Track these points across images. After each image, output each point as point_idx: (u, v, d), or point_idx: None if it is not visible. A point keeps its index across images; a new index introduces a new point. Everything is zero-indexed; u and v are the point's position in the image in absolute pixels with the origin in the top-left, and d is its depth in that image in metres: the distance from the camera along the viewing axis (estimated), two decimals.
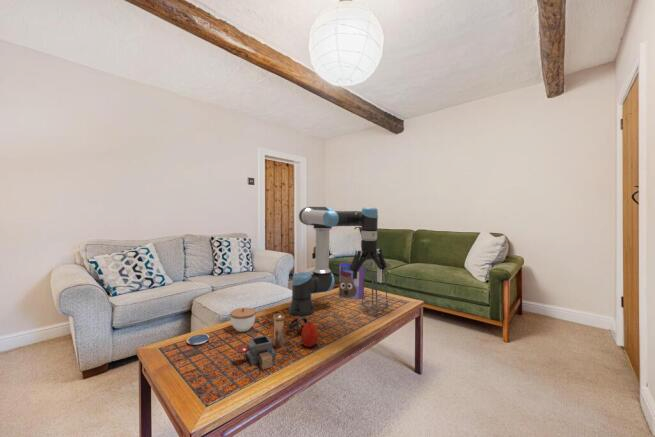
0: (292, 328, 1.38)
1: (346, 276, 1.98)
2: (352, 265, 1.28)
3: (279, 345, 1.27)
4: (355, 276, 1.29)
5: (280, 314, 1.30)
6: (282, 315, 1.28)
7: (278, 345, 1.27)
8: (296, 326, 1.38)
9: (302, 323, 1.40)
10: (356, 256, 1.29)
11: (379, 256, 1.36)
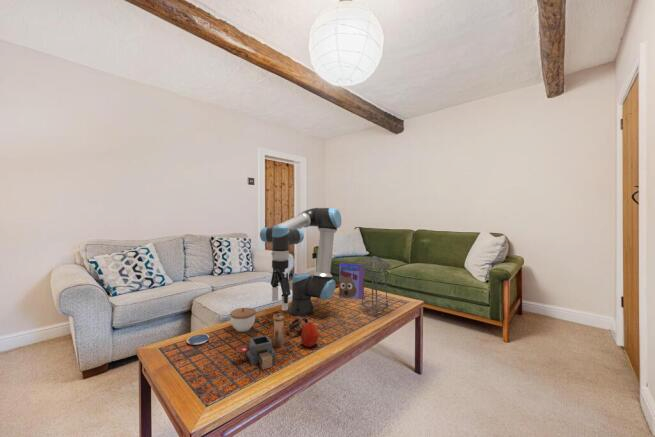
0: (293, 329, 1.38)
1: (346, 276, 1.98)
2: None
3: (279, 345, 1.27)
4: None
5: (280, 314, 1.30)
6: (282, 315, 1.28)
7: (278, 345, 1.27)
8: (297, 327, 1.38)
9: (303, 323, 1.40)
10: None
11: None
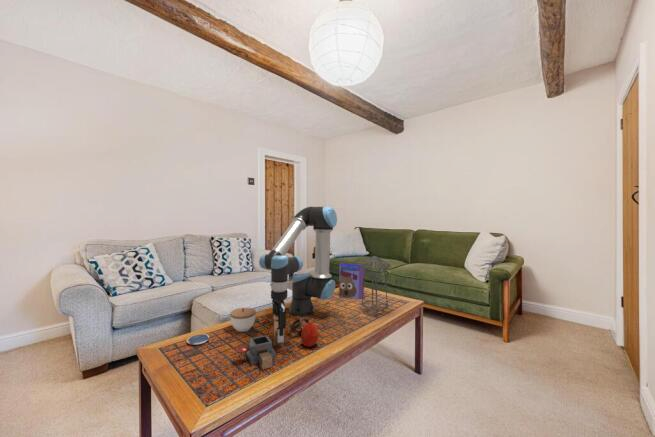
0: (294, 329, 1.37)
1: (346, 276, 1.98)
2: None
3: (279, 345, 1.27)
4: None
5: None
6: None
7: (278, 345, 1.27)
8: (298, 327, 1.37)
9: (304, 324, 1.39)
10: None
11: None
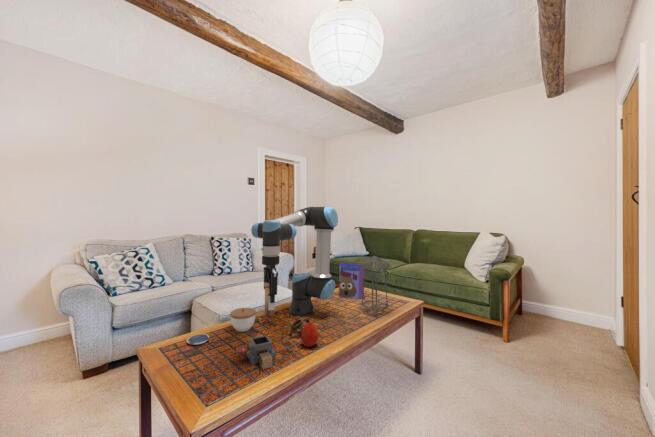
0: (295, 330, 1.37)
1: (346, 276, 1.98)
2: None
3: (270, 313, 1.21)
4: None
5: None
6: None
7: (269, 313, 1.21)
8: (299, 328, 1.37)
9: None
10: None
11: None
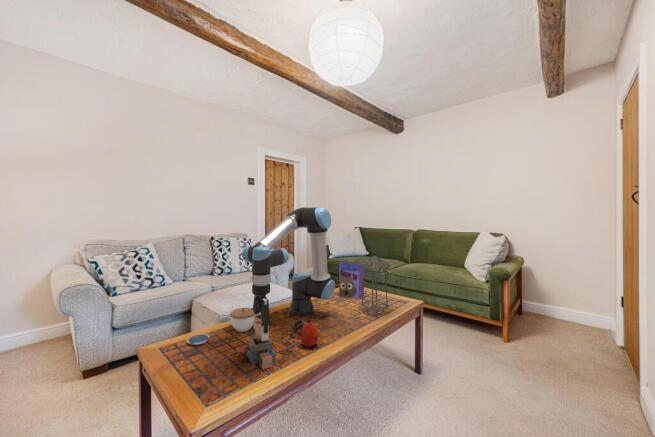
0: (297, 330, 1.36)
1: (346, 276, 1.98)
2: None
3: None
4: None
5: None
6: None
7: None
8: (301, 328, 1.36)
9: None
10: None
11: None
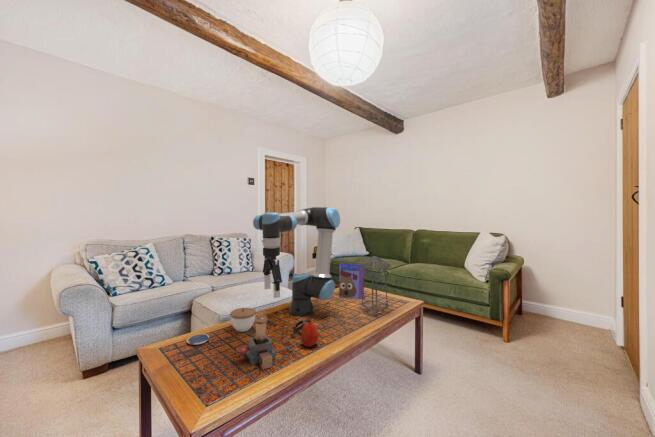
0: (297, 331, 1.35)
1: (346, 276, 1.98)
2: None
3: None
4: None
5: (263, 316, 1.19)
6: (265, 317, 1.18)
7: None
8: None
9: None
10: None
11: None
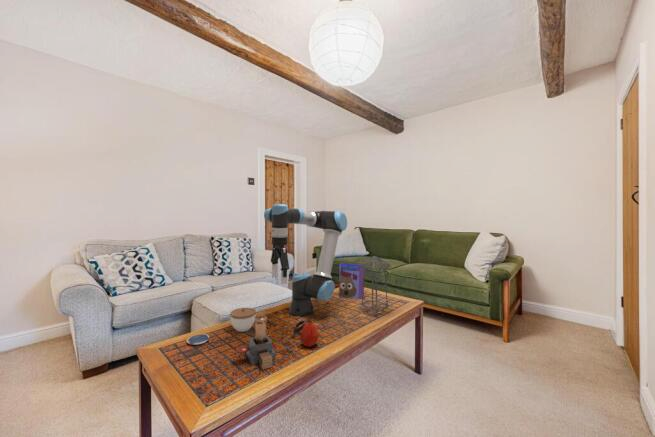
0: (298, 331, 1.35)
1: (346, 276, 1.98)
2: None
3: None
4: None
5: (262, 316, 1.19)
6: (264, 317, 1.18)
7: None
8: None
9: None
10: None
11: None
